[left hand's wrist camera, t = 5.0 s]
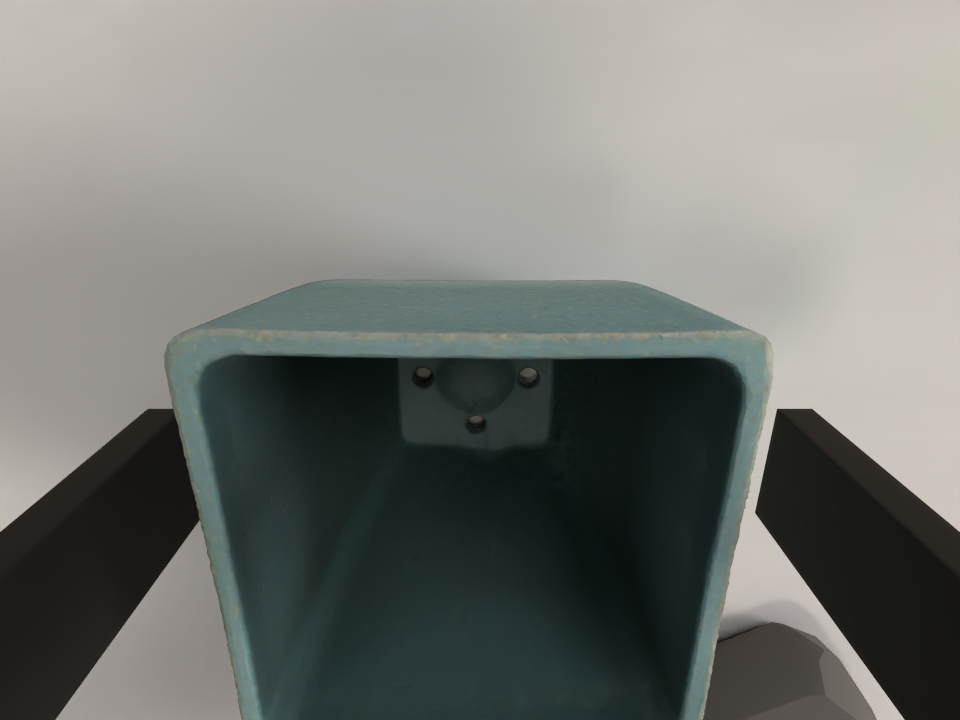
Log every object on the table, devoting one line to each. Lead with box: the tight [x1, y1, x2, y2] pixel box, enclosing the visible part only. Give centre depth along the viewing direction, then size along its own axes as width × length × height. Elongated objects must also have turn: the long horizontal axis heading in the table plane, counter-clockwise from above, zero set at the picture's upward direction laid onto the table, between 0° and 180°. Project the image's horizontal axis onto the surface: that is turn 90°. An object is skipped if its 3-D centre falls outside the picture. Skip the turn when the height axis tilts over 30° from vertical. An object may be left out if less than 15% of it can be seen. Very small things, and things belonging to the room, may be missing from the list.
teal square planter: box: [164, 279, 773, 720], centre depth 14 cm, size 9×9×9 cm
